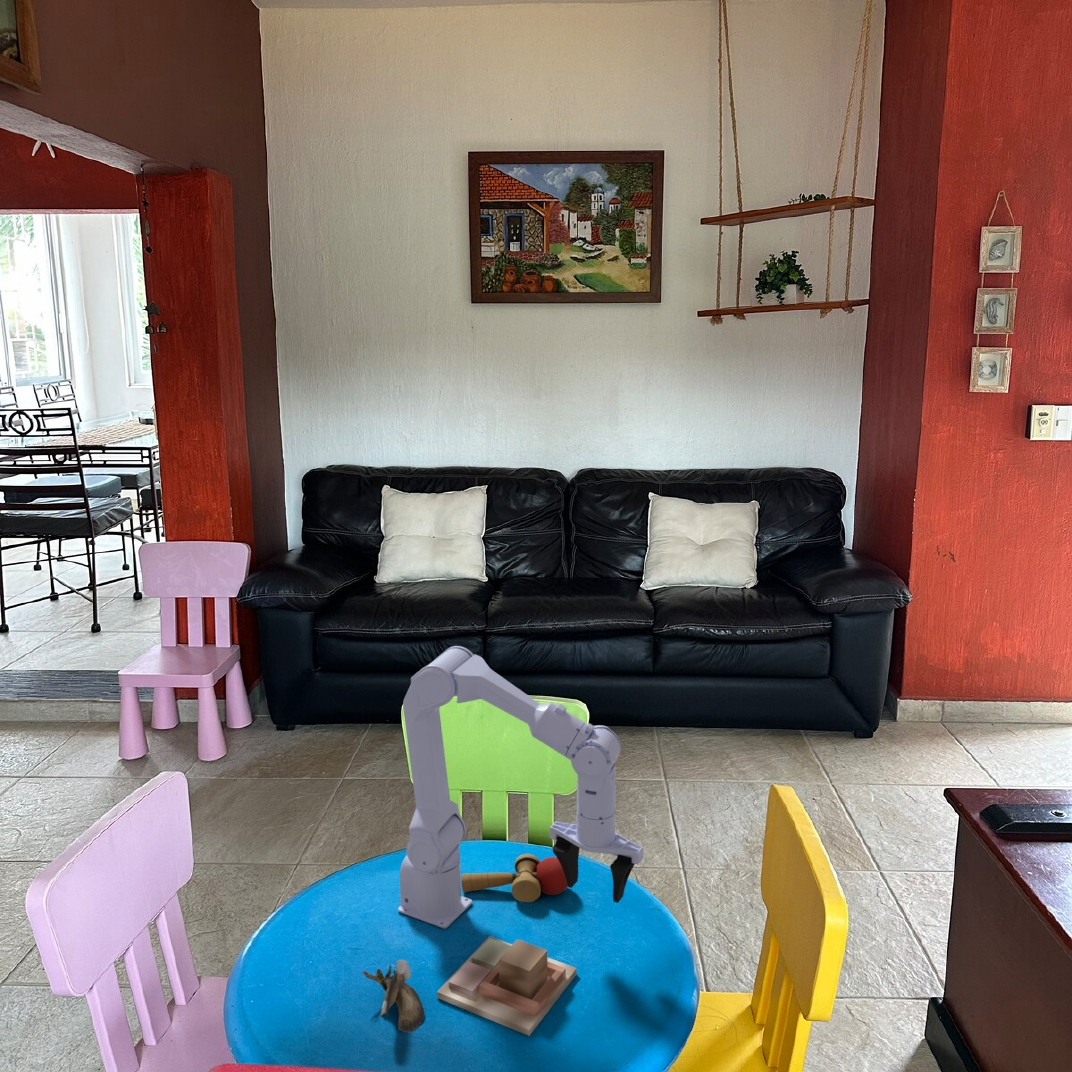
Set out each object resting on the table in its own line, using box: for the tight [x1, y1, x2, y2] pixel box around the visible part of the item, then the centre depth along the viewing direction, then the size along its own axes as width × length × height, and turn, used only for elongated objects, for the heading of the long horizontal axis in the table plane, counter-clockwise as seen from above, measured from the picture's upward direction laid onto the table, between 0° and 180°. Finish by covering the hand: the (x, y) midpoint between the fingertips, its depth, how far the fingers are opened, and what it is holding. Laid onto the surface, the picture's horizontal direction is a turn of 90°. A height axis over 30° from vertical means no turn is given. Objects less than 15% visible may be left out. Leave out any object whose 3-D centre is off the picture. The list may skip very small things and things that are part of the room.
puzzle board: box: [436, 935, 578, 1037], centre depth 140 cm, size 15×14×2 cm
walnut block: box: [499, 939, 548, 1000], centre depth 138 cm, size 5×5×5 cm
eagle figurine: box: [362, 959, 425, 1034], centre depth 135 cm, size 8×7×9 cm
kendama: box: [461, 853, 569, 903], centre depth 162 cm, size 8×6×18 cm
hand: (595, 891), depth 146 cm, fingers open, 7 cm apart
